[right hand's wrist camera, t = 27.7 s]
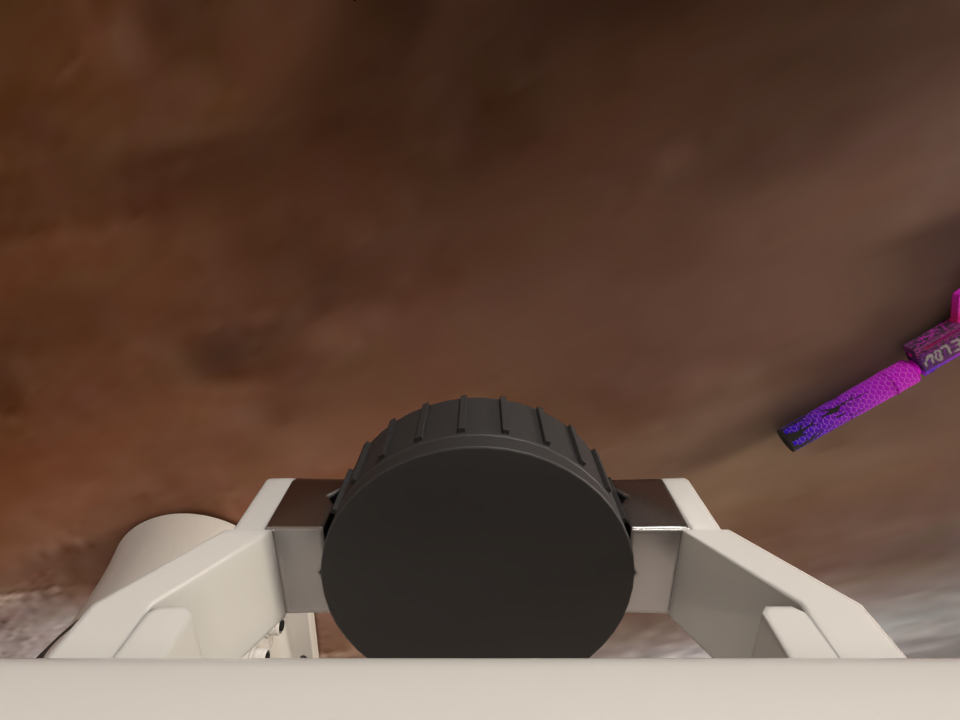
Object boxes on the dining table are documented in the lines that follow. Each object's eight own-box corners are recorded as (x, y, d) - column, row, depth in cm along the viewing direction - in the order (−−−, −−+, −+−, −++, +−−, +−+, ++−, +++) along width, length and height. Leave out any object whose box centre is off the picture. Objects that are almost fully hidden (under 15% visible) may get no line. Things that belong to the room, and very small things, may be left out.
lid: (629, 595, 11) (656, 672, 9) (386, 637, 11) (370, 717, 10) (591, 366, 9) (616, 411, 8) (304, 425, 10) (268, 481, 8)
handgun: (1025, 190, 34) (1056, 191, 32) (1062, 284, 36) (1093, 290, 34) (737, 370, 38) (749, 380, 37) (785, 446, 40) (799, 459, 39)
